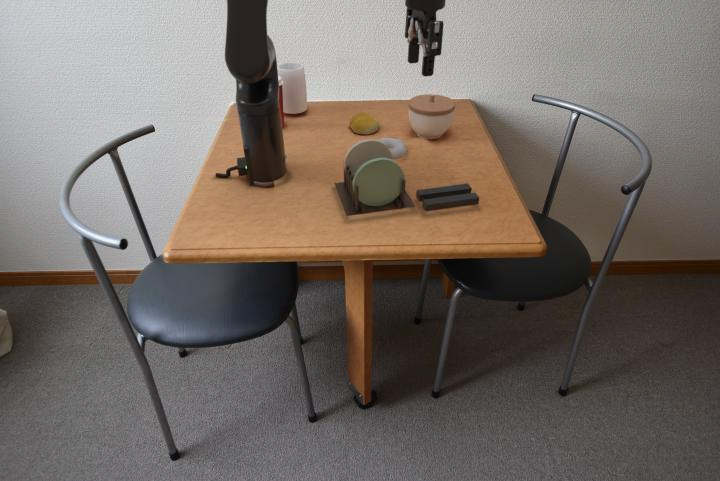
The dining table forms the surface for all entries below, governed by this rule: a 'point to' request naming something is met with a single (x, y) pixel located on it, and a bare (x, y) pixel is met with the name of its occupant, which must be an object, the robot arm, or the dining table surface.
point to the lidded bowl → (430, 115)
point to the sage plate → (378, 181)
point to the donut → (395, 147)
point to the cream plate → (365, 153)
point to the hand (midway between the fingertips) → (419, 69)
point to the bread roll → (364, 123)
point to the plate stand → (447, 197)
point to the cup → (293, 87)
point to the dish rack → (357, 207)
